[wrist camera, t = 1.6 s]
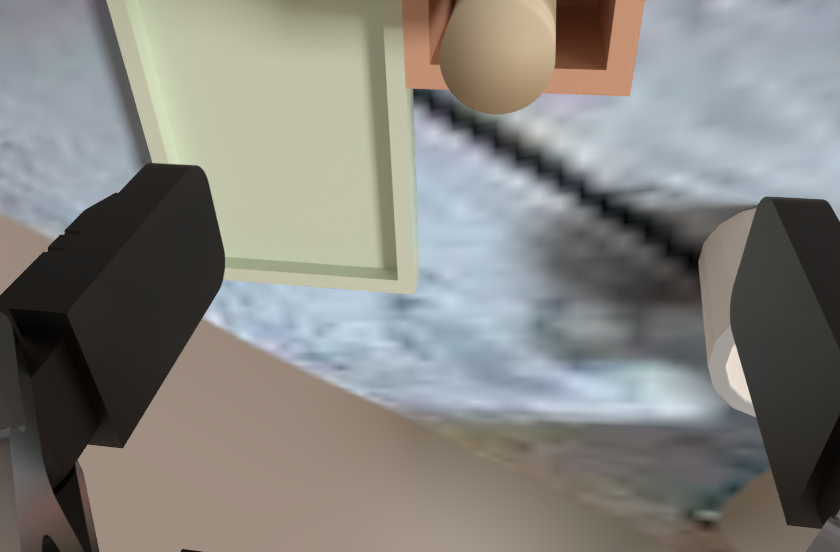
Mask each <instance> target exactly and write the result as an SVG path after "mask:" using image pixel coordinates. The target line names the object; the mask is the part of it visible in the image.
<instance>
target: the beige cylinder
mask: <svg viewBox="0 0 840 552" xmlns="http://www.w3.org/2000/svg"><path fill="white" fill-rule="evenodd" d="M756 209H757V208H753V209H749V210H745V211H741V212H739V213H738V214H736V215H734V216H733V217H731V218H729V219H728V220H726V221H724V222H723V223H721V224H719V225H718V226H717V227H716V229H715V230H714V231H713V232H712V233H711V235H710V236H709V237H708V238H707V239H706V241H705V242H704V243H703V247H702V251H701V254H700V258H699V261H698V264H699V275H700V286H701V297H702V308H703V319H704V329H705V340H706V351H707V362H708V368H709V372H710V376H711V380H712V384H713V387H714V390H715V391H716V392H717V393H718V394H719V395H720V396H721V397H722V398H723V399H724V400H725V401H726V402H727V403H728V404H729V405H730V406H731V407H733V408H735V409H737V410H740V411H742V412H745V413H747V414H749V415H752V416H754V417H756V414H755V411H754V407H753V404H752V400H751V397H750V393H749V390H748V386H747V383H746V380H745V376H744V373H743V369H742V366H741V362H740V359H739V355H738V352H737V348H736V345H735V341H734V338H733V334H732V330H731V324H730V301H731V294H732V289H733V285H734V282H735V278H736V275H737V272H738V268H739V265H740V262H741V258H742V255H743V251H744V248H745V245H746V241H747V238H748V235H749V231H750V228H751V225H752V221H753V218H754V214H755V211H756Z"/></svg>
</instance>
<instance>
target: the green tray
mask: <svg viewBox="0 0 840 552" xmlns="http://www.w3.org/2000/svg"><path fill="white" fill-rule="evenodd" d="M106 1H107V4H108V8H109V11H110V15H111V18H112V22H113V25H114V29H115V32H116V36H117V40H118V43H119V47H120V50H121V54H122V57H123V61H124V64H125V68H126V71H127V75H128V78H129V82H130V85H131V89H132V92H133V96H134V99H135V103H136V107H137V110H138V114H139V117H140V121H141V124H142V128H143V131H144V135H145V138H146V142H147V145H148V149H149V152H150V156H151V159H152V163H163V164H182V165H197V166H200V167H201V168H202V169H203V170H204V172H205V174H206V176H207V178H208V182H209V186H210V190H211V195H212V199H213V203H214V208H215V212H216V216H217V221H218V225H219V229H220V234H221V238H222V242H223V247H224V252H225V272H224V277H223V280H230V281H243V282H256V283H269V284H282V285H295V286H308V287H322V288H335V289H348V290H361V291H374V292H387V293H400V294H414V295H415V292H416V288H417V284H418V280H419V250H418V222H417V193H416V164H415V135H414V106H413V88H405V64H404V39H403V15H402V0H106Z"/></svg>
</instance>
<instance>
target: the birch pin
mask: <svg viewBox="0 0 840 552" xmlns="http://www.w3.org/2000/svg"><path fill="white" fill-rule="evenodd" d="M555 51H556V0H457V2H456V5H455V7H454V10H453V13H452V15H451V18H450V21H449V23H448V26H447V29H446V31H445V34H444V37H443V40H442V43H441V47H440V56H439V61H440V69H441V73H442V76H443V79H444V81H445V83H446V85H447V87H448V88H449V90H450V91H451V93H452V94H453V95H454V96H455V97H456V98H457V99H458V100H459V101H461V102H462V103H463V104H465V105H466V106H468V107H470V108H472V109H474V110H477V111H479V112H483V113H488V114H505V113H511V112H514V111H517V110H520V109H522V108H524V107H526V106H528V105H530V104H531V103H532V102H534V101H535V100H536V99H537V98H538V97H539V96H540V95H541V94H542V93H543V92H544V90H545V89H546V87H547V86H548V84H549V82H550V80H551V78H552V75H553V72H554V67H555Z"/></svg>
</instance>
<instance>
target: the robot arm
mask: <svg viewBox="0 0 840 552" xmlns="http://www.w3.org/2000/svg"><path fill="white" fill-rule="evenodd" d="M224 272H225V252H224V247H223V242H222V238H221V234H220V229H219V225H218V221H217V216H216V212H215V208H214V203H213V199H212V195H211V190H210V186H209V182H208V178H207V176H206V174H205V172H204V170H203V169H202V168H201V167H200V166H197V165H182V164H163V163H149V164H146V165H145V166H144V167H143V168H142V169H141V170H140V171H139V172H138V173H137V174H136V175H135V176H134V177H133V178H132V179H131V180H130V181H129V183H128V184H127V185H126V186H125V187H124V188H123V189H122V190H121V191H120V192H119V193H114V194H112V195H111V196H109V197H107V198H105V199H104V200H102V201H100V202H98V203H96V204H95V205H93V206H91V207H89V208H88V209H86V210H84V211H83V212H82V213H81V214H80V215H79V216H78V217H77V218H76V219H75V220H74V221H73V223H72V224H71V225H70V226H69V227H68V228H67V229H66V230H65V234H64V235H60V236H59V237H58V238H57V239H56V240H55V241H54V242H53V243H52V244H51V245H50V246H49V247H48V252H43V253H42V254H41V255H40V256H39V257H38V258H37V259H36V260H35V261H34V262H33V263H32V264H31V265H30V266H29V267H28V268H27V269H26V270H25V271H24V272H23V273H22V274H21V275H20V276H19V277H18V278H17V279H16V280H15V281H14V282H13V283H12V284H11V285H10V286H9V287H8V288H7V289H6V290H5V291H4V292H3V293H2V294H1V295H0V552H99V547H98V542H97V537H96V532H95V527H94V522H93V517H92V512H91V507H90V502H89V497H88V493H87V488H86V483H85V478H84V473H83V471H82V468H81V466H80V464H79V462H78V460H77V459H78V458H79V456H80V455H81V453H82V452H83V450H84V449H85V447H86V446H87V444H90V445H98V446H107V447H117V448H123V447H124V445H125V444H126V442H127V440H128V439H129V437H130V436H131V434H132V432H133V431H134V429H135V427H136V426H137V424H138V422H139V421H140V419H141V418H142V416H143V414H144V413H145V411H146V409H147V408H148V406H149V404H150V403H151V401H152V399H153V398H154V396H155V395H156V393H157V391H158V389H159V388H160V386H161V385H162V383H163V381H164V379H165V378H166V377H167V375H168V373H169V372H170V370H171V368H172V367H173V365H174V363H175V362H176V360H177V358H178V357H179V355H180V354H181V352H182V350H183V349H184V347H185V345H186V343H187V342H188V340H189V339H190V337H191V335H192V334H193V332H194V331H195V329H196V327H197V325H198V324H199V322H200V321H201V319H202V317H203V316H204V314H205V312H206V311H207V309H208V308H209V306H210V304H211V303H212V301H213V299H214V298H215V296H216V294H217V293H218V291H219V289H220V287H221V284H222V281H223V277H224ZM730 324H731V330H732V334H733V338H734V341H735V345H736V348H737V352H738V355H739V359H740V362H741V366H742V369H743V373H744V376H745V380H746V383H747V386H748V390H749V393H750V397H751V400H752V404H753V407H754V411H755V414H756V418H757V421H758V425H759V428H760V432H761V435H762V439H763V442H764V446H765V449H766V453H767V456H768V460H769V463H770V467H771V470H772V473H773V477H774V480H775V484H776V487H777V490H778V494H779V498H780V501H781V504H782V508H783V512H784V515H785V519H786V522H787V525H791V526H801V527H810V528H818V529H821V530H820V532H819V533H818V535H817V536H816V538H815V539H814V541H813V542H812V544H811V545H810V547H809V548H808V550H807V551H806V552H840V221H839V220H838V218H837V216H836V214H835V213H834V211H833V209H832V207H831V206H830V204H829V203H828V202H827V201H826V200H822V199H803V198H784V197H764V198H763V199H762V200H761V201H760V203H759V204H758V206H757V209H756V211H755V214H754V218H753V221H752V225H751V228H750V231H749V235H748V238H747V241H746V245H745V248H744V251H743V255H742V258H741V262H740V265H739V268H738V272H737V275H736V278H735V282H734V285H733V289H732V294H731V301H730ZM181 552H200V551H193V550H185V549H182V550H181Z"/></svg>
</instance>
